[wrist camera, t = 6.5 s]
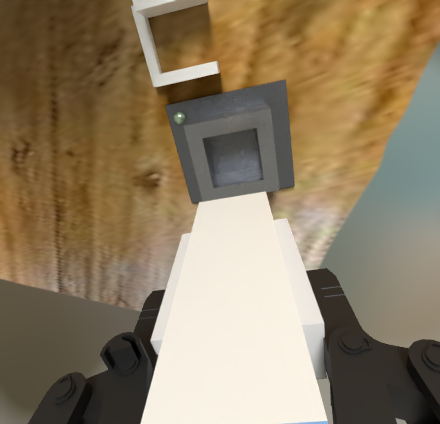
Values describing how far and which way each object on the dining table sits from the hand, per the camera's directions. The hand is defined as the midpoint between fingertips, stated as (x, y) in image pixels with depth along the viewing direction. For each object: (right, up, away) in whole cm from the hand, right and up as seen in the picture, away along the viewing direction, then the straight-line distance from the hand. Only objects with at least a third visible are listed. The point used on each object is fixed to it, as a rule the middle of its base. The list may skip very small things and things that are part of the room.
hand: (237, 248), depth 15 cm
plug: (0, +1, +2) cm, 3 cm away
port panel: (+1, +10, +18) cm, 20 cm away
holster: (-5, +19, +13) cm, 24 cm away
